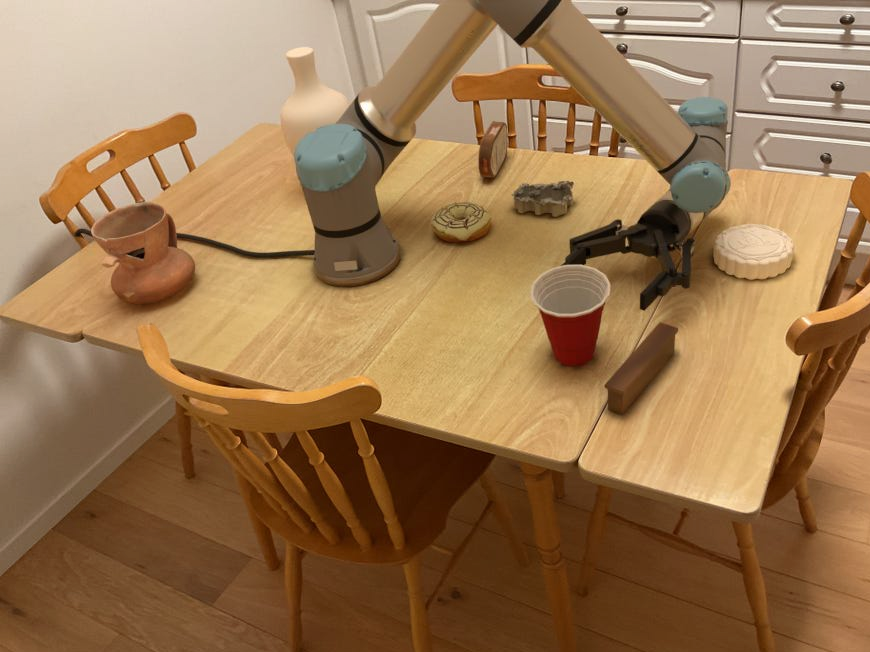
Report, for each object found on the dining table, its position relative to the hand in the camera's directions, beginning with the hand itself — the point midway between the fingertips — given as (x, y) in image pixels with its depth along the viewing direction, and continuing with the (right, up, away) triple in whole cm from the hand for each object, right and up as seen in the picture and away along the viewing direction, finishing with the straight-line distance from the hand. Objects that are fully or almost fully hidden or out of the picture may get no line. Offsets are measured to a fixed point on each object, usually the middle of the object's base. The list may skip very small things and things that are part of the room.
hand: (599, 289), depth 111 cm
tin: (-14, +29, +49) cm, 59 cm away
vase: (-48, +26, +51) cm, 75 cm away
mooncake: (+26, +6, +13) cm, 30 cm away
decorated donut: (-20, +13, +31) cm, 39 cm away
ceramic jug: (-75, +3, +28) cm, 80 cm away
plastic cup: (-4, -10, 0) cm, 10 cm away
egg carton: (-5, +18, +34) cm, 39 cm away
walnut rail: (+5, -13, -6) cm, 15 cm away
